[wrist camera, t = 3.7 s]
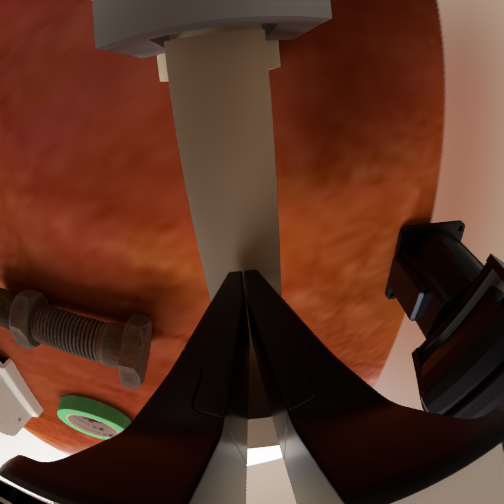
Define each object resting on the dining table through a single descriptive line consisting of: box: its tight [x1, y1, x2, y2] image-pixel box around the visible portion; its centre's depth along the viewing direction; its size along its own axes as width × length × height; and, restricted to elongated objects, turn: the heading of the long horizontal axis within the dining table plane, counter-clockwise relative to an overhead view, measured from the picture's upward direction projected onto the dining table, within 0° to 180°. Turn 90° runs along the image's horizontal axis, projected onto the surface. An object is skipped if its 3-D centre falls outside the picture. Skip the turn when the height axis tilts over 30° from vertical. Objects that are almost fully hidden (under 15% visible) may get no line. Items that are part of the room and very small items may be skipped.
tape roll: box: [57, 395, 131, 440], centre depth 30 cm, size 11×11×3 cm
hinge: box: [0, 358, 44, 436], centre depth 24 cm, size 17×5×10 cm, turn 163°
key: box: [164, 29, 281, 448], centre depth 8 cm, size 3×12×6 cm, turn 5°
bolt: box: [0, 288, 152, 389], centre depth 18 cm, size 6×5×15 cm
